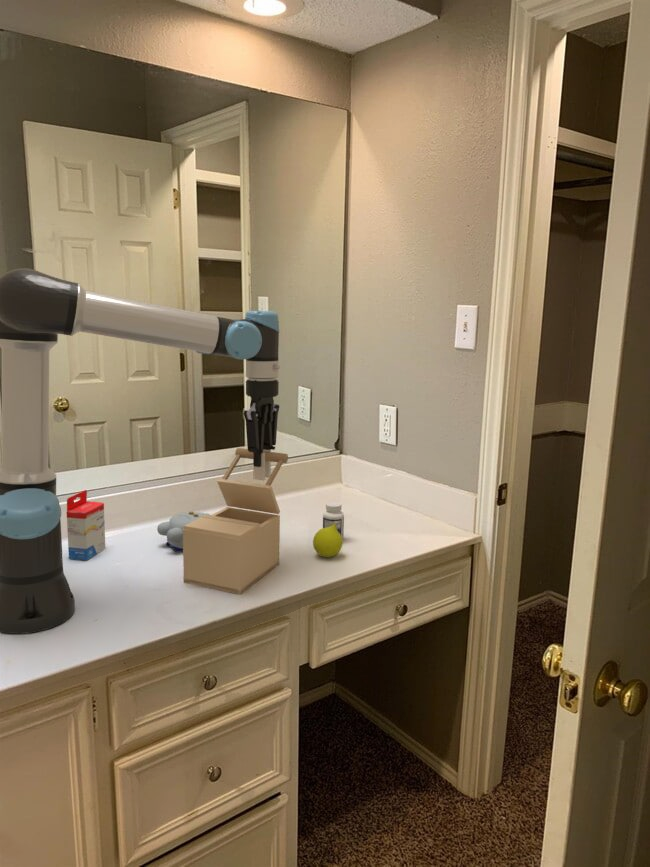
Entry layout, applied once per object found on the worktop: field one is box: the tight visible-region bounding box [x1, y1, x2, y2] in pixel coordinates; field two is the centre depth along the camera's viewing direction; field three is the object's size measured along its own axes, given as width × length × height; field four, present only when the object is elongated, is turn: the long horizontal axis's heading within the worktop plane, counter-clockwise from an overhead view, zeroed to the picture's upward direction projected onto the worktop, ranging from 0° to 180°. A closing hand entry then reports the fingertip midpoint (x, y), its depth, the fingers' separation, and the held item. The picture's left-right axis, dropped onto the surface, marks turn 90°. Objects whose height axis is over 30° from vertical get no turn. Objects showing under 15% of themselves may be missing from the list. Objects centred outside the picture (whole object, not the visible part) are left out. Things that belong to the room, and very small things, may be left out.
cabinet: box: [182, 506, 281, 595], centre depth 146 cm, size 18×14×13 cm
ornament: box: [312, 521, 343, 558], centre depth 158 cm, size 7×7×10 cm
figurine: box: [156, 510, 211, 553], centre depth 165 cm, size 17×8×20 cm
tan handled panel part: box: [216, 447, 289, 515], centre depth 153 cm, size 9×14×11 cm
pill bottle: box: [322, 501, 345, 542], centre depth 169 cm, size 5×5×10 cm
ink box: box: [66, 489, 106, 561], centre depth 155 cm, size 8×5×15 cm, turn 168°
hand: (262, 477), depth 155 cm, fingers closed on tan handled panel part, 2 cm apart
